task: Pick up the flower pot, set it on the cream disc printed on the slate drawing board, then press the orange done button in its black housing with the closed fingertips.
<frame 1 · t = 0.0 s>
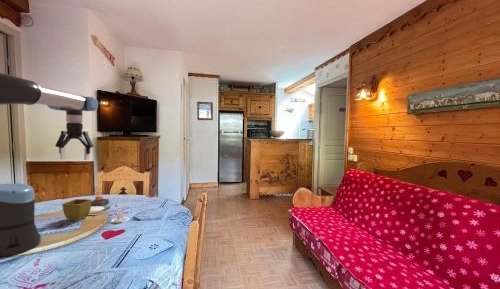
hand: (74, 159, 135), 28 cm above the table, tool pointing down, fingers open, 13 cm apart
button housing: (99, 205, 140), on the table
flower pot: (77, 219, 117), on the table
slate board: (91, 211, 129), on the table
done button: (99, 198, 140), point 4 cm above the table, slide at 0.0 cm
teacup and saucer: (113, 222, 115), on the table
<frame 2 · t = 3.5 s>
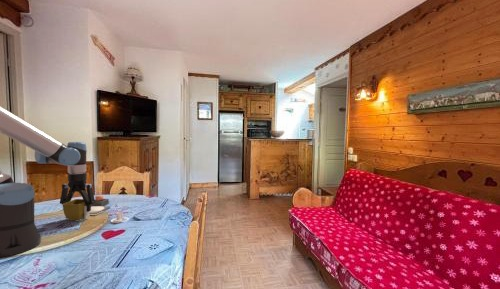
hand: (77, 217, 117), 1 cm above the table, tool pointing down, fingers closed on flower pot, 8 cm apart
flower pot: (77, 219, 117), on the table, touching gripper
everything else where it was.
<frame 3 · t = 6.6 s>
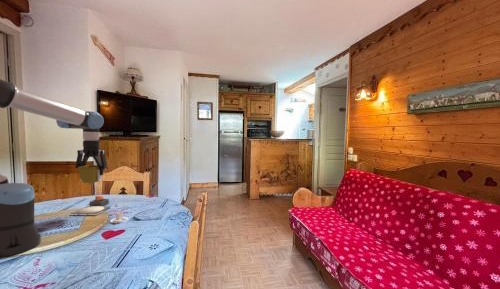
hand: (91, 180, 128), 17 cm above the table, tool pointing down, fingers closed on flower pot, 8 cm apart
flower pot: (91, 182, 128), point 16 cm above the table, touching gripper
everything else where it was.
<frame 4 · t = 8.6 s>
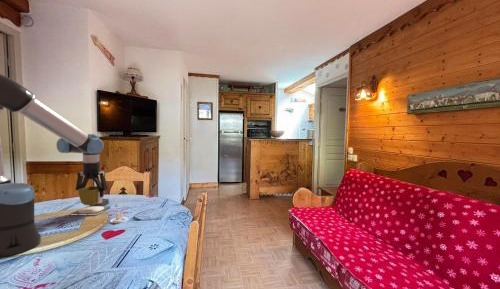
hand: (91, 202, 129), 5 cm above the table, tool pointing down, fingers closed on flower pot, 8 cm apart
flower pot: (91, 204, 129), point 4 cm above the table, touching gripper
everything else where it was.
when the fingers open (3 cm above the table, at t = 9.9 s): flower pot drops 1 cm, resting on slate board.
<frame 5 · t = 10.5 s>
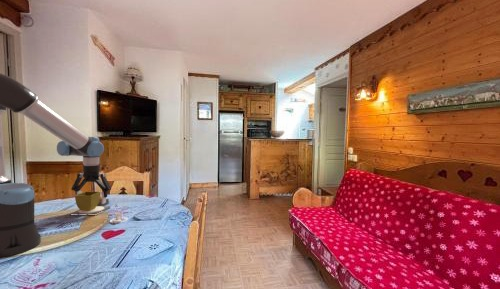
hand: (91, 203, 128), 5 cm above the table, tool pointing down, fingers open, 13 cm apart
flower pot: (88, 209, 129), point 1 cm above the table, touching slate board
everything else where it was.
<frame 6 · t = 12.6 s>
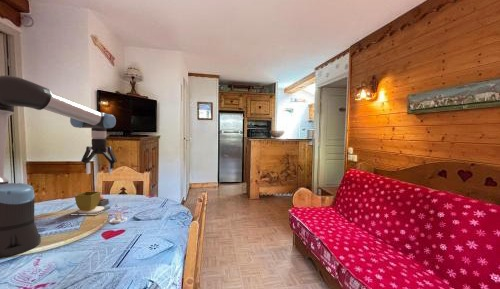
hand: (99, 174, 139), 19 cm above the table, tool pointing down, fingers open, 12 cm apart
nothing on the table moved.
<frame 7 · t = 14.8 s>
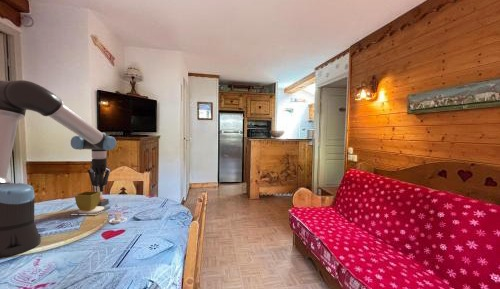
hand: (99, 197, 140), 5 cm above the table, tool pointing down, fingers closed
done button: (99, 199, 140), point 3 cm above the table, slide at 0.8 cm, touching gripper
everything else where it was.
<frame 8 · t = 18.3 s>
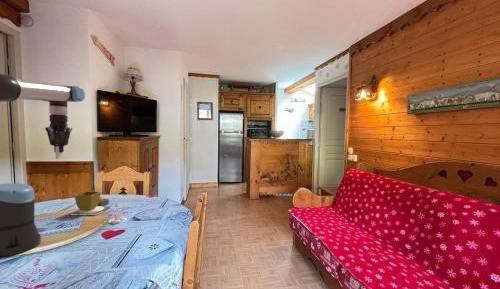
hand: (59, 158, 125), 29 cm above the table, tool pointing down, fingers closed
done button: (99, 200, 140), point 3 cm above the table, slide at 1.0 cm
at the end: flower pot 1.8 cm off-centre on the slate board, point 0.9 cm above the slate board's base; flower pot tilted 0°; done button slide at 1.0 cm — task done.
